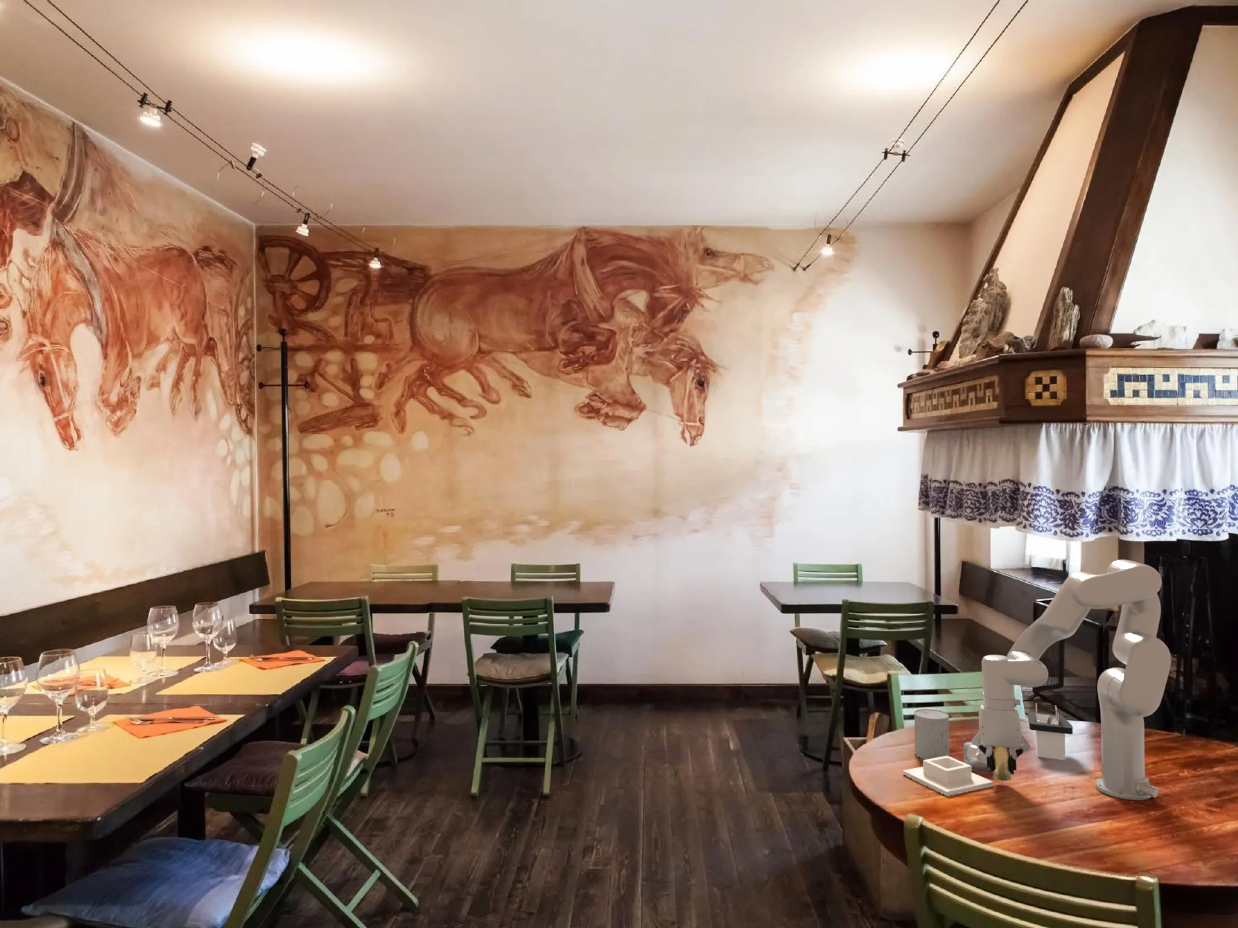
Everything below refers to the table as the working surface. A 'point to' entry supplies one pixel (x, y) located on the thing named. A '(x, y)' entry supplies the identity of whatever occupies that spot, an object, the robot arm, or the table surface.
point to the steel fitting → (975, 757)
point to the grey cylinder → (931, 733)
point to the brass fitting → (1001, 763)
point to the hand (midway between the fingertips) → (1001, 770)
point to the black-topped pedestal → (1049, 732)
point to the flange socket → (947, 776)
